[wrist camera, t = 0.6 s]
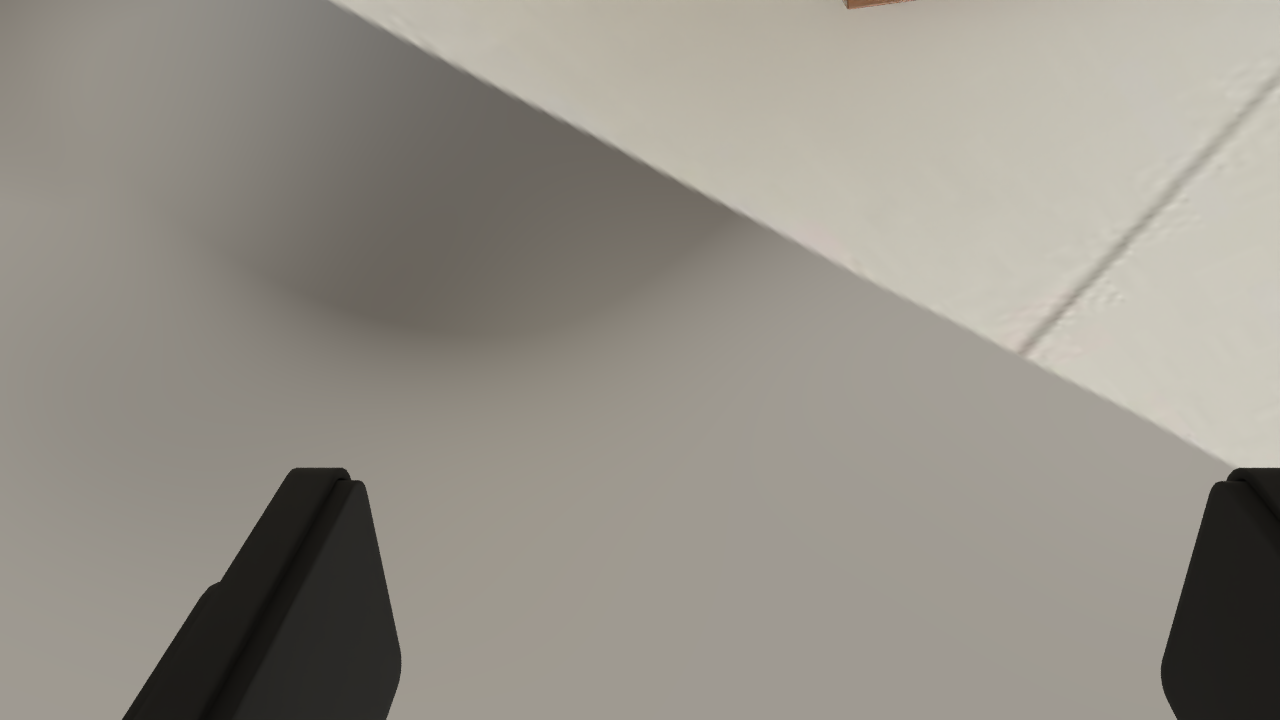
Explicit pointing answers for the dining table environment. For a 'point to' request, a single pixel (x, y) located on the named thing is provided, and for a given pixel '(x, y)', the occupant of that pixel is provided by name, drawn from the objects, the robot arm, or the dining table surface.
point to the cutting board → (868, 3)
